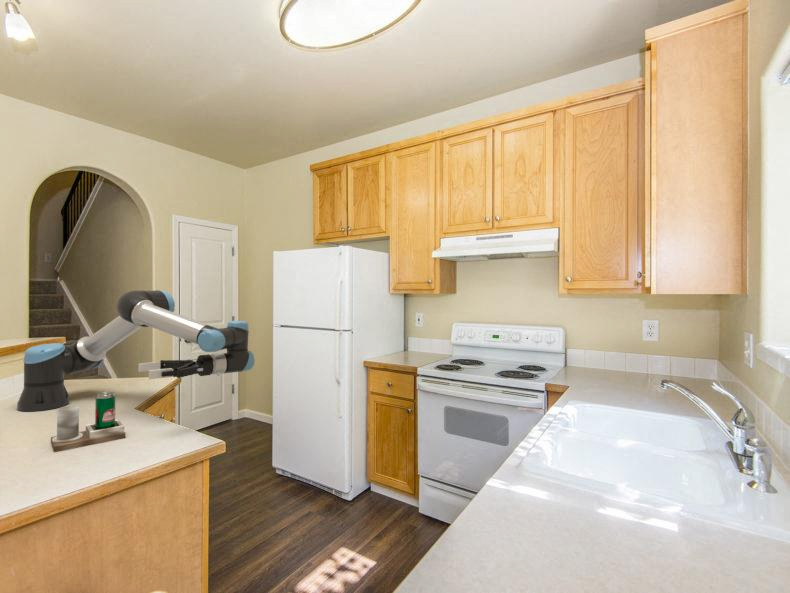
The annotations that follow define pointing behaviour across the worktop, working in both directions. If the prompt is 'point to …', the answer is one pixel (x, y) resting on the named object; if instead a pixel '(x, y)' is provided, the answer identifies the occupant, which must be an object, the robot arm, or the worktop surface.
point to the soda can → (105, 410)
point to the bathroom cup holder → (73, 438)
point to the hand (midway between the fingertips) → (143, 371)
